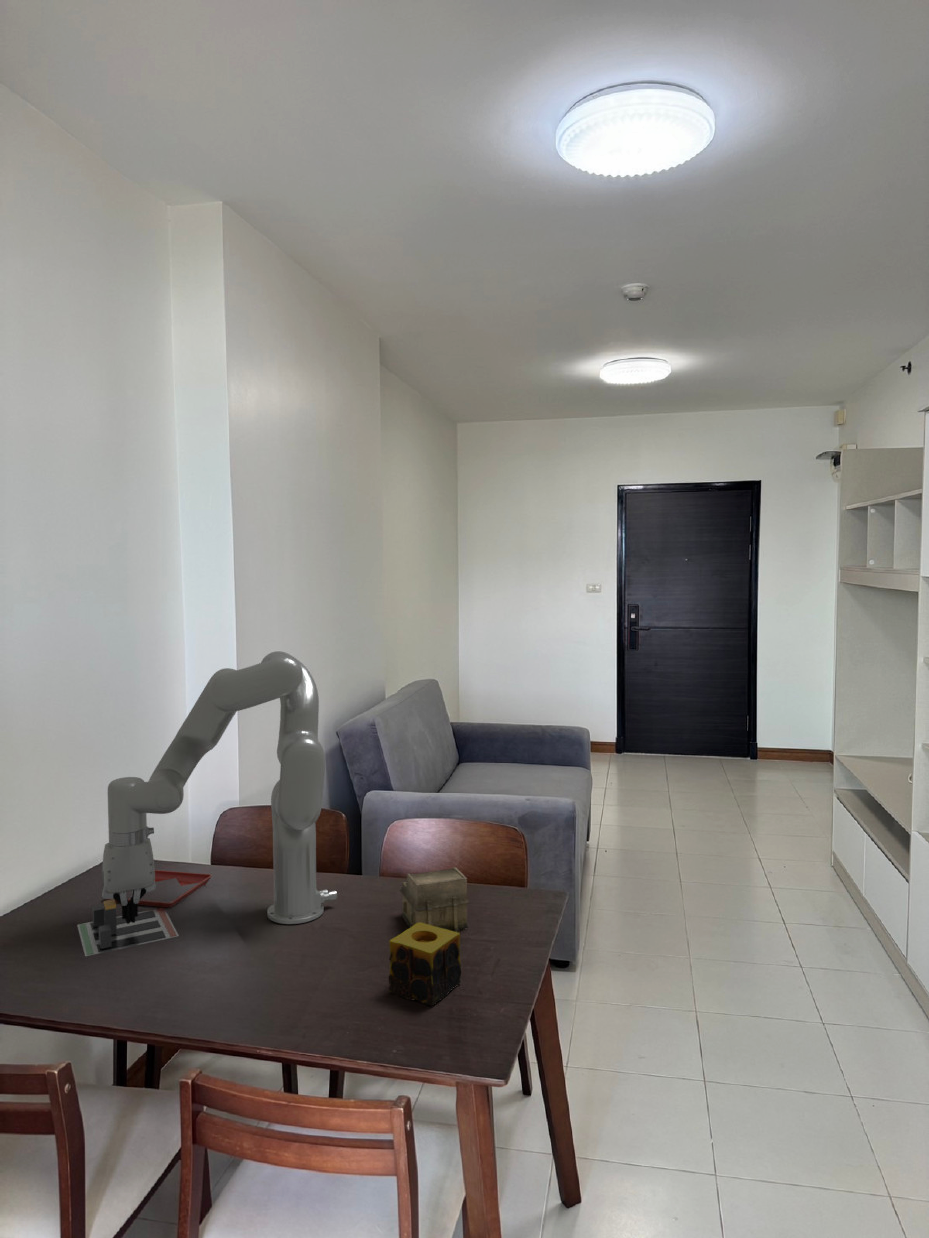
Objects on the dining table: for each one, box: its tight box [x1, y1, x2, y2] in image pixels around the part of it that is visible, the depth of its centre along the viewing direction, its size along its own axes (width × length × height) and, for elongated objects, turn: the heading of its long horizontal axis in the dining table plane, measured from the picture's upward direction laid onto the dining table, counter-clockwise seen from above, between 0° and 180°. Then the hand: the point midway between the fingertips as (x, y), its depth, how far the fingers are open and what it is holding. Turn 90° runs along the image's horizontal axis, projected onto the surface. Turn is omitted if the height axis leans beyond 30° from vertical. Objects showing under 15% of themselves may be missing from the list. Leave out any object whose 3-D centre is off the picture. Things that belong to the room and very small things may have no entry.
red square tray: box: [105, 869, 213, 908], centre depth 198 cm, size 18×18×3 cm
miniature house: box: [399, 866, 471, 933], centre depth 183 cm, size 15×14×11 cm
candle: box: [388, 922, 462, 1007], centre depth 154 cm, size 10×10×10 cm
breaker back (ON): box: [91, 903, 104, 927], centre depth 179 cm, size 2×3×4 cm, turn 30°
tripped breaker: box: [103, 899, 117, 935], centre depth 174 cm, size 2×3×6 cm
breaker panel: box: [76, 907, 180, 957], centre depth 176 cm, size 18×17×2 cm
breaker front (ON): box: [99, 924, 112, 949], centre depth 168 cm, size 2×3×4 cm, turn 30°
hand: (130, 920), depth 176 cm, fingers closed
